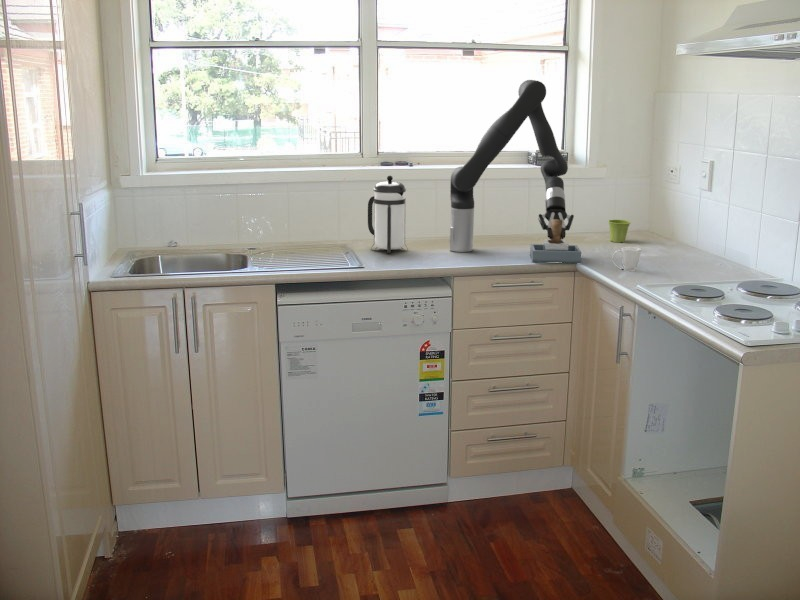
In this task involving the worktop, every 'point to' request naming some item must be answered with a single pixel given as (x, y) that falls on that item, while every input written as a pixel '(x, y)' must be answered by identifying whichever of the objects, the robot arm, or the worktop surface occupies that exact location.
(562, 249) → the bore block
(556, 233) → the peg
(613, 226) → the plant pot
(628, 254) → the cup
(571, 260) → the bin
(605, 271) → the worktop surface
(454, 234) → the robot arm
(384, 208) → the coffee press
